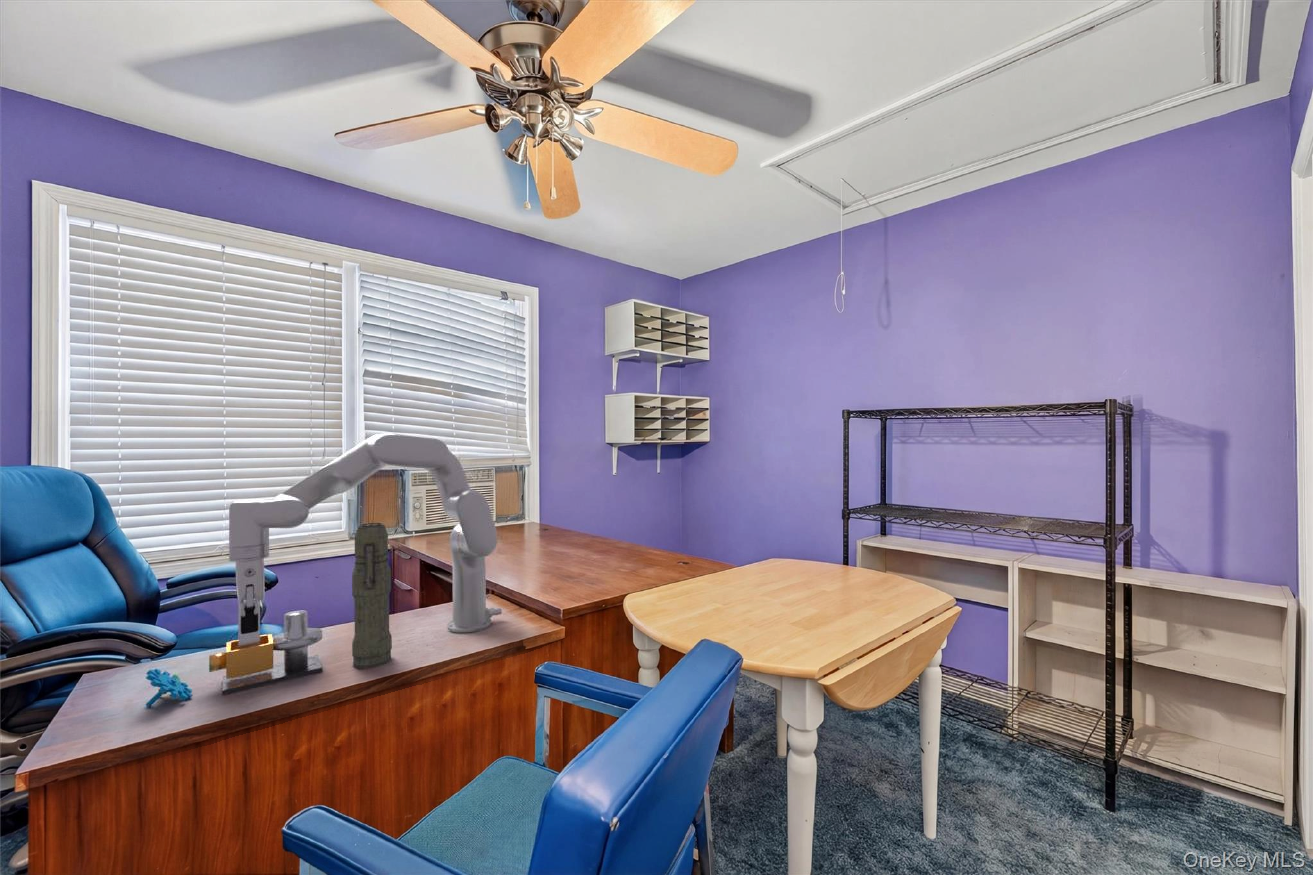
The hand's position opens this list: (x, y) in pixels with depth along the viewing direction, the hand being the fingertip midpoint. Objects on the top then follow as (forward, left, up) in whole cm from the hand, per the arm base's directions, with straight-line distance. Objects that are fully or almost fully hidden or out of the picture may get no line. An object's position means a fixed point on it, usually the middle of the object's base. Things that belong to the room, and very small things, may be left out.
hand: (249, 629), depth 125 cm
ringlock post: (-4, 0, -12) cm, 13 cm away
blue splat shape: (+14, +1, -12) cm, 19 cm away
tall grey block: (0, 0, -3) cm, 3 cm away
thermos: (-25, +6, -12) cm, 28 cm away
